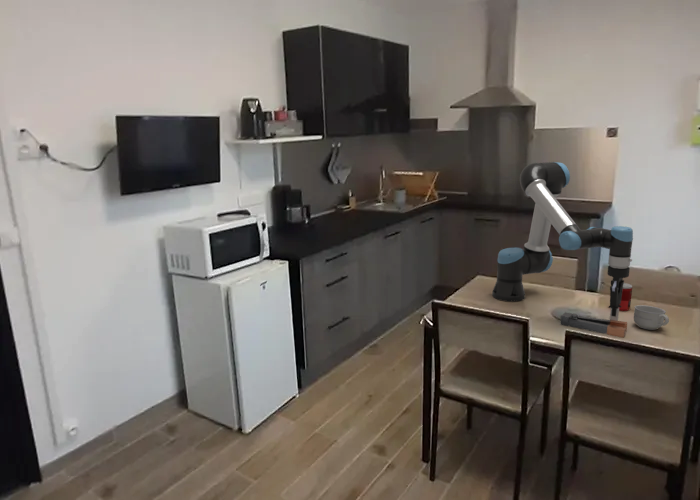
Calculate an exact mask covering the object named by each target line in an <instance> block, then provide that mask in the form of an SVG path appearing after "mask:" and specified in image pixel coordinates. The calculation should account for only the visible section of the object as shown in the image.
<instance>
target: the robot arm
mask: <svg viewBox="0 0 700 500" xmlns="http://www.w3.org/2000/svg"><path fill="white" fill-rule="evenodd" d="M570 179H571V174H570V171H569V169H568V167H567V165H566V164H564V163H563V162H557V161H549V162H547V161H546V162H533V163H529V164H528V165H526V166H524V168H523V169H522V171H521V172H520V175H519V183H520V187H521V190H522V191H523V192H524V193H525V195H526V196H527V197H530V198H531V199H532V200H533V201H534V203H535V204H534V210H533V215H532V220H531V223H530V224H531V225H530V230H529V236H528V241H527V242H525V243H524V245H523V248H521V247H507V248H503V249H500V251H499V252H498V253H497V260H496V261H497V267H496V272H497V273H496V282H495V284H494V286H493V288H492V293H491V294H492V297H493V298H494V299H496V300H497V301H498V300H499V301H503V302H520V301H523V300H525V299H526V291H525V288H524V284H523V275H530V274H540V273H543V272H545V273H546V271H548V270H549V269H551V267H552V265H553V261H554V259H553V257H554V256H553V254H552V252H551V250H550V247H549V246H548V242H549V236H550V231H551V226H552V227H553V228H554V230H556V232H557V233H558V235H559V237H558V242H559V247H560V248H561V249H562V250H565V251H576V250H582V249H583V250H584V249H592V248H593V249H594V248H603V249H608V250H609V251H608V262H607V264H608V266H607V275H608V276H609V277H612V280H610V286H609V290H610V291H609V305H608V308H610V313H609V315H610V316H609V320H615V321H619V313H620V311H619V308H618V307H622V306H621V305H620V304H621V297H622V290H623V284H624V283H625V280H624V279H626V278H628V277H629V276H630V266H631V262H632V261H633V259H632V258H631V256H632V254H631V253H632V249H633V248H632V246H633V241H634V240H633V239H634V238H633V237H634V235H633V234H634V232H633V229H632V227H629V226H622V225H619V226H618V225H617V226H613V227H612V228H610V229H607V228H604V227H600V226H597V227H596V226H590V227H588V228H587V229H580V227H579V226H578V224H576V222H575V221H574V219H573V218H572V217H571V216H570V215H569V213H568V212H567V211H566V210H565V208H564V207H563V206H562V204H560V202H559V201H558V199H557V197H558V196H560V195H561V194H562V190H563V188H565V187H567V186H568V184H569V183H570Z"/></svg>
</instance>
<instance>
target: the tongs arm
mask: <svg viewBox="0 0 700 500" xmlns="http://www.w3.org/2000/svg"><path fill="white" fill-rule="evenodd" d="M571 317H572V318H574V319H579V320H584V321H589V322H594V323H599V324H604V325H612V326H617V327H623V328H626V333H627V331H628V321H622V320H618V321H615V320H610V319H605V318H598V317H597V318H596V317H588V316H581V315H579V314H577V313H572V314H571Z"/></svg>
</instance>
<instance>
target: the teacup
mask: <svg viewBox="0 0 700 500" xmlns="http://www.w3.org/2000/svg"><path fill="white" fill-rule="evenodd" d="M633 321H634V323H635V324H636V326H638V327H639V328H641V329H644V330H649V331H652V330H653V331H654V330H657V329H659V328H662V327H663V326H666V325H668V324H669V322H670V319H669V316H668V315H667V314H666V310H665V309H663V308H660V307H657V306H652V305H645V304H644V305H643V304H639V305H634V311H633Z"/></svg>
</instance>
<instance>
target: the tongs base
mask: <svg viewBox="0 0 700 500" xmlns="http://www.w3.org/2000/svg"><path fill="white" fill-rule="evenodd" d="M571 314H573V313H571V312H568V311H565V312H564V313H563V314H561V316H560V324H559V325H561V326H566V327H569V328H570V327H571V328H577V329H582V330H586V331H591V332H595V333H600V334H603V335H604V334H605V335H609V336H614V337H618V338H625V337H626V333H627V332H626V328H623V327H617V326H612V325H604V324H599V323H594V322H589V321H584V320H579V319H577V318H572V317H571Z"/></svg>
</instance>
